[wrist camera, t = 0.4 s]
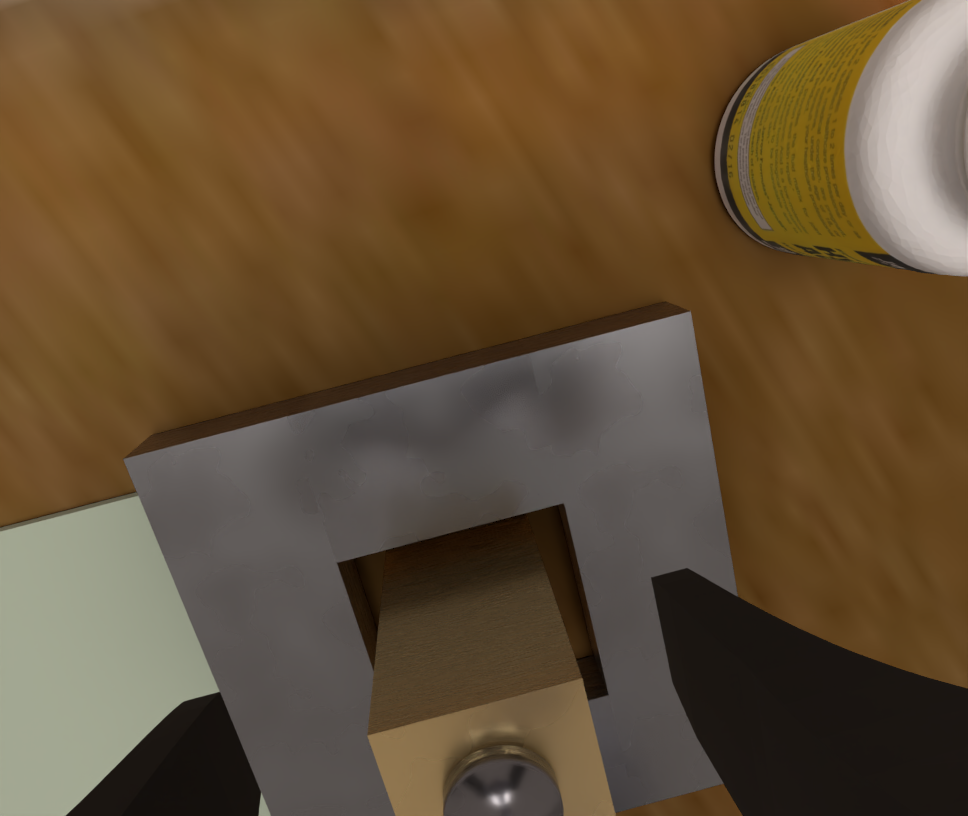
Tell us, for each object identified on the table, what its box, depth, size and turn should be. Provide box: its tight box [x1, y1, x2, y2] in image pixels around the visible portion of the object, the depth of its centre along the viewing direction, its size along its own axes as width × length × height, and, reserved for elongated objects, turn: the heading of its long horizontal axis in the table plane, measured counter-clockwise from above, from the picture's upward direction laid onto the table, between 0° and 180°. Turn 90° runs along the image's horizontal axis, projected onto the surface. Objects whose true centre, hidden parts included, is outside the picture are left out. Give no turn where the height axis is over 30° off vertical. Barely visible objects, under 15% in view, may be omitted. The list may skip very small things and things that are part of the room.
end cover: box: [367, 515, 616, 816], centre depth 19 cm, size 4×4×9 cm
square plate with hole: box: [123, 302, 738, 816], centre depth 22 cm, size 15×15×2 cm
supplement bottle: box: [715, 0, 968, 276], centre depth 15 cm, size 5×5×10 cm
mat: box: [0, 492, 271, 816], centre depth 22 cm, size 12×10×1 cm
